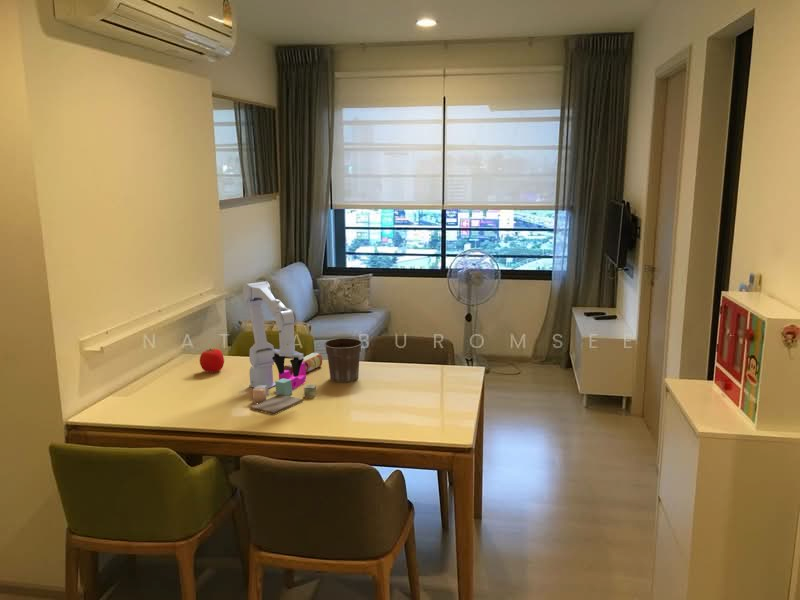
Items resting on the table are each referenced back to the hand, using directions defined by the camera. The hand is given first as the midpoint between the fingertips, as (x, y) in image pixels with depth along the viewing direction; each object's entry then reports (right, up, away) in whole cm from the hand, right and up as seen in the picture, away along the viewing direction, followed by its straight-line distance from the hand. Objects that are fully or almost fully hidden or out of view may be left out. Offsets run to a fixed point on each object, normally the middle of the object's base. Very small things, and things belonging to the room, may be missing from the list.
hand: (288, 374), depth 248 cm
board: (-4, -11, -4) cm, 13 cm away
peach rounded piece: (-11, -11, +1) cm, 16 cm away
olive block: (+8, -9, +6) cm, 13 cm away
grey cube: (-12, -10, +7) cm, 17 cm away
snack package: (0, -4, +38) cm, 38 cm away
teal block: (-3, -9, +8) cm, 13 cm away
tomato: (-42, -4, +42) cm, 59 cm away
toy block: (-1, -7, +22) cm, 23 cm away
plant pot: (+20, -5, +27) cm, 33 cm away
